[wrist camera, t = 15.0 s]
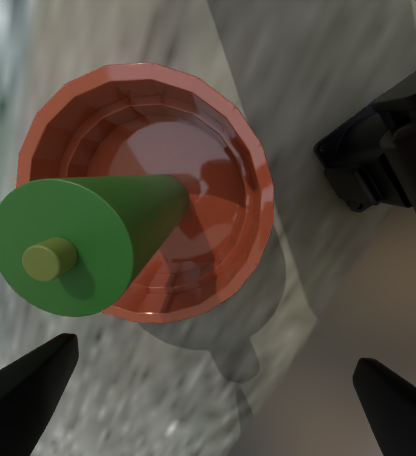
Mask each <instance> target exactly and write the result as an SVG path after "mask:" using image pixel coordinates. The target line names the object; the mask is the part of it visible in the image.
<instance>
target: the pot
mask: <svg viewBox="0 0 416 456" xmlns="http://www.w3.org/2000/svg"><path fill="white" fill-rule="evenodd" d="M155 174H166V175H170V176H173V177H175V178H177V179H178V180H179V181H180V182H182V184H183V185H184V186H185V188H186V190H187V192H188V195H189V208H188V211H187V213H186V214H185V216H184V217H183V219H182V220H181V221H180V222H179V224H178V225H177V226H176V228H175V229H174V230H173V231H172V233H171V234H170V235H169V236H168V238H167V239H166V240H165V242H164V243H163V244H162V245H161V247H160V248H159V249H158V250H157V252H156V253H155V254H154V256H153V257H152V258H151V259H150V261H149V262H148V263H147V264H146V266H145V267H144V268H143V270H142V271H141V272H140V273H139V275H138V276H137V277H136V279H135V280H134V281H133V282H132V284H131V285H130V286H129V287H128V289H127V290H126V291H125V293H124V294H123V295H122V296H121V297H120V298H119V300H118V301H116V302H115V303H114V304H113V305H111V306H110V307H108V308H107V309H105V310H103V311H100V312H102V313H105V314H108V315H112V316H115V317H119V318H122V319H126V320H129V321H132V322H141V323H171V322H175V321H179V320H183V319H186V318H190V317H193V316H197V315H200V314H204V313H206V312H208V311H209V310H211V309H212V308H214V307H216V306H217V305H219V304H220V303H222V302H223V301H225V300H226V299H228V298H229V297H231V296H233V295H234V294H235V293H236V292H237V291H238V290H239V288H240V287H241V286H242V285H243V283H244V282H245V281H246V280H247V279H248V277H249V276H250V275H251V274H252V272H253V271H254V270H255V269H256V268H257V266H258V264H259V262H260V260H261V257H262V255H263V252H264V249H265V247H266V244H267V242H268V239H269V236H270V234H271V231H272V228H273V207H274V184H273V181H272V177H271V174H270V170H269V166H268V163H267V159H266V156H265V152H264V149H263V146H262V144H261V142H260V141H259V139H258V138H257V136H256V135H255V133H254V132H253V130H252V129H251V127H250V126H249V124H248V123H247V121H246V120H245V118H244V117H243V115H242V114H241V113H240V111H239V110H238V108H237V107H236V106H235V105H234V104H233V103H231V102H230V101H229V100H228V99H226V98H225V97H224V96H222V95H221V94H220V93H218V92H217V91H216V90H214V89H213V88H212V87H210V86H209V85H208V84H206V83H205V82H204V81H203V80H201V79H200V78H198V77H196V76H193V75H190V74H187V73H184V72H180V71H177V70H174V69H171V68H168V67H165V66H162V65H159V64H155V63H135V64H115V65H107V66H103V67H101V68H99V69H97V70H94V71H92V72H90V73H88V74H85V75H83V76H81V77H79V78H77V79H74V80H72V81H70V82H68V83H67V84H65V85H64V86H63V87H62V88H61V89H60V90H59V91H58V92H57V93H56V94H55V95H54V96H53V97H52V98H51V99H50V100H49V101H48V102H47V103H46V104H45V105H44V106H43V107H42V108H41V109H40V110H39V111H38V112H37V115H36V116H35V118H34V120H33V122H32V125H31V127H30V129H29V132H28V134H27V136H26V138H25V141H24V143H23V145H22V147H21V150H20V152H19V159H18V171H17V183H16V188H17V187H19V186H21V185H23V184H25V183H28V182H30V181H34V180H39V179H49V178H74V177H101V176H128V175H155Z"/></svg>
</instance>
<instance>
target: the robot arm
mask: <svg viewBox="0 0 416 456" xmlns="http://www.w3.org/2000/svg"><path fill="white" fill-rule="evenodd" d="M321 145H323V146H324V150H323V151H321V150H320V146H321ZM314 151H315V153H316V155H317V156H318V158H319V160H320V161H321V163H322V164H323V166H324V168H325V169H324V174H325V176H326V177H327V179H328V181H329V182H330V184H331V185H332V187H333V188H334V190H335V192H336V193H337V195H338V196H339V198H341V199H345V201H346V202H347V204H348V205H349V207H350V209H351V210H352V211H355V212H362V211H364V210H365V209H367V208H368V207H370V206H372V205H375V206H376V205H378V204H380V203H385V204H390V205H396V206H401V207H407V208H410V207H412V206H413V208H414V210H415V212H416V71H415V72H414V73H412V74H411V75H409V76H408V77H407V78H405V79H404V80H402V81H401V82H400V83H398V84H397V85H395V86H394V87H392V88H391V89H390V90H388V91H387V92H385V93H384V94H383V95H381V96H380V97H378V98H377V99H375V100H374V101H373V102H371V104H369V105H368V106H367V107H365V108H364V109H363V110H361V111H360V112H358V113H357V114H356V115H354V116H353V117H352V118H350V119H349V120H348V121H346V122H345V123H344V124H342V125H341V126H339V127H338V128H337V129H335V130H334V131H333V132H331V133H330V134H329V135H327V136H326V137H324V138H323V139H322V140H320V141H319V142H318V143H317V144H316V145H315V147H314ZM358 203H360V206H359V208H356V205H357V204H358ZM78 358H79V350H78V339H77V336H76V335H75V334H69V333H62V334H60V335H58V336H56V337H55V338H53V339H51V340H50V341H48V342H46V343H45V344H43V345H41V346H40V347H38V348H36V349H34V350H33V351H31V352H29V353H28V354H26V355H24V356H23V357H21V358H19V359H18V360H16V361H14V362H13V363H11V364H9V365H8V366H6V367H4V368H2V369H1V370H0V456H30V454H31V453H32V451H33V449H34V447H35V446H36V444H37V442H38V440H39V439H40V437H41V435H42V433H43V432H44V430H45V428H46V426H47V425H48V423H49V421H50V419H51V417H52V415H53V413H54V411H55V409H56V407H57V405H58V402H59V400H60V398H61V396H62V394H63V392H64V390H65V387H66V385H67V383H68V381H69V379H70V377H71V375H72V373H73V370H74V368H75V366H76V364H77V361H78ZM353 385H354V387H355V390H356V392H357V395H358V397H359V400H360V402H361V404H362V407H363V409H364V412H365V414H366V417H367V419H368V421H369V424H370V426H371V428H372V431H373V433H374V436H375V438H376V440H377V442H378V445H379V447H380V449H381V451H382V453H383V455H384V456H416V387H415V386H413V385H412V384H410V383H409V382H408V381H406V380H405V379H403V378H402V377H400V376H399V375H397V374H396V373H394V372H393V371H392V370H390V369H389V368H387V367H386V366H384V365H383V364H382V363H380V362H379V361H377V360H375V359H372V358H361V359H359V361H358V363H357V366H356V369H355V371H354V374H353Z"/></svg>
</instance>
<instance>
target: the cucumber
mask: <svg viewBox="0 0 416 456" xmlns="http://www.w3.org/2000/svg"><path fill="white" fill-rule="evenodd" d="M188 208H189V195H188V192H187V190H186V188H185V186H184V185H183V184H182V182H180V181H179V180H178V179H177V178H175V177H173V176H170V175H166V174H155V175H128V176H101V177H74V178H49V179H39V180H34V181H30V182H28V183H25V184H23V185H21V186H19V187H17V188H16V189H14V190H13V191H12V192H11V193H9V194H8V195H7V196H6V197H5V198H4V199H3V201H2V202H1V203H0V272H1V273H2V275H3V277H4V278H5V280H6V281H7V282H8V284H9V285H10V286H11V287H12V288H13V289H14V290H15V292H17V293H18V294H19V295H20V296H21V297H22V298H24V299H25V300H26V301H28V302H29V303H31V304H32V305H34V306H36V307H38V308H40V309H42V310H44V311H47V312H50V313H53V314H56V315H61V316H69V317H81V316H87V315H92V314H95V313H98V312H100V311H103V310H105V309H107V308H108V307H110V306H111V305H113V304H114V303H115V302H116V301H118V300H119V298H120V297H121V296H122V295H123V294H124V293H125V291H126V290H127V289H128V287H129V286H130V285H131V284H132V282H133V281H134V280H135V279H136V277H137V276H138V275H139V273H140V272H141V271H142V270H143V268H144V267H145V266H146V264H147V263H148V262H149V261H150V259H151V258H152V257H153V256H154V254H155V253H156V252H157V250H158V249H159V248H160V247H161V245H162V244H163V243H164V242H165V240H166V239H167V238H168V236H169V235H170V234H171V233H172V231H173V230H174V229H175V228H176V226H177V225H178V224H179V222H180V221H181V220H182V219H183V217H184V216H185V214H186V213H187V211H188Z"/></svg>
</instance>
